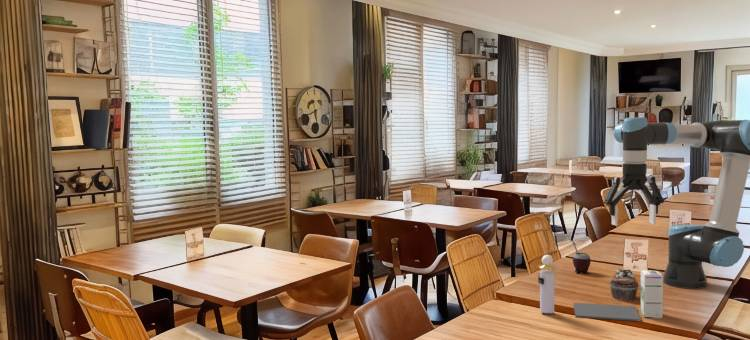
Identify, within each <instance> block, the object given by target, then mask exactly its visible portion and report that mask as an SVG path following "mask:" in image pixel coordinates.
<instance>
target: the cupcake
mask: <svg viewBox="0 0 750 340" xmlns="http://www.w3.org/2000/svg"><path fill="white" fill-rule="evenodd" d="M609 286H610V293H611V298H613V299H614V298H615V299H614V300H617V299H618V300H619V301H623V300H627V301H626V302H628V301H629V300H632V301H635V300H636V297H637V293H638V289H639V288H640V287H639V282H638V281H637V278H636V275H635V274H634V273H633V271H632V270H631V269H616V270H615V274H614V275H613V276H612V278H611V281H610V283H609ZM629 302H630V301H629Z"/></svg>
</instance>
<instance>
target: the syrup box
mask: <svg viewBox="0 0 750 340" xmlns="http://www.w3.org/2000/svg"><path fill="white" fill-rule="evenodd" d="M663 275H664V274H662V273H661V272H660V271H658V270H652V269H649V270H647V269H646V270H645V269H644V270H640V313H641V314H643V315H642V316H643V318H645V317H652V318H651V319H663V310H664V309H663V307H664V306H663V304H664V303H663V302H664V300H663V297H664V296H663V295H664V293H663V291H664V289H663V288H664V287H663V286H664V285H663V283H664V282H663ZM653 317H654V318H653Z"/></svg>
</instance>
